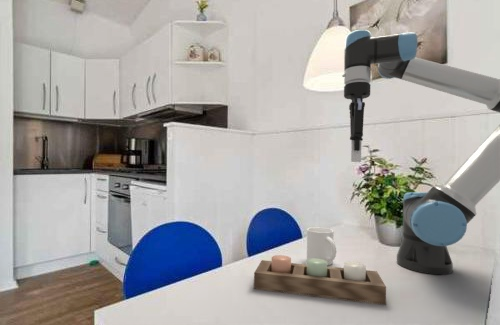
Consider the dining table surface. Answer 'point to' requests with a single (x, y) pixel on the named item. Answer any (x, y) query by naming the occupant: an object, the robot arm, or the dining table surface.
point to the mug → (321, 244)
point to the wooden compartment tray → (321, 283)
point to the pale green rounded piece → (317, 267)
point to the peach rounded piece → (281, 264)
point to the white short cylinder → (354, 271)
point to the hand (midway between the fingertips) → (356, 161)
